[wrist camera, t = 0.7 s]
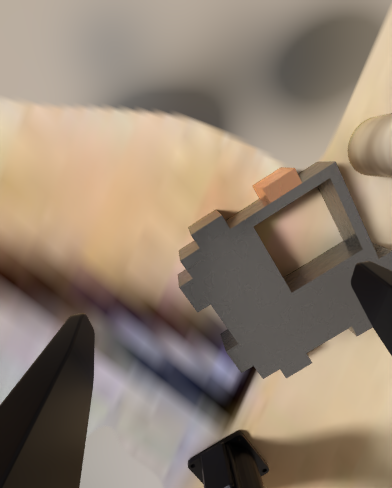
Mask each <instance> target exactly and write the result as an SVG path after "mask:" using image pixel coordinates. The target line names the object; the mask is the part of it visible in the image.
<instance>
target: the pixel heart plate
mask: <svg viewBox="0 0 392 488" xmlns="http://www.w3.org/2000/svg"><path fill="white" fill-rule="evenodd" d="M317 186H318V188H319V190H320V192H321V194H322V197H323V199H324V201H325V203H326V205H327V207H328V209H329V211H330V213H331V215H332V217H333V219H334V222H335V224H336V226H337V228H338V230H339V232H340V234H341V236H342V238H343V240H344V241H343V242H341V243H339V244H338V245H336V246H335V247H333V248H331V249H330V250H328V251H326V252H325V253H323V254H322V255H320V256H318V257H317V258H315V259H313V260H312V261H310V262H309V263H307V264H305V265H304V266H302V267H300V268H299V269H297V270H296V271H294V272H292V273H291V274H289V275H287V276H286V277H284V278H283V277H282V275H281V273H280V272H279V270H278V268H277V267H276V265H275V263H274V261H273V260H272V258H271V256H270V255H269V253H268V251H267V249H266V248H265V246H264V244H263V243H262V241H261V239H260V237H259V236H258V234H257V232H256V231H255V229H254V226H255V225H257V224H258V223H260V222H261V221H263V220H265V219H266V218H268V217H269V216H271V215H272V214H274V213H276V212H277V211H279V210H280V209H282V208H283V207H285V206H287V205H288V204H290V203H291V202H293V201H294V200H296V199H298V198H299V197H301V196H302V195H304V194H305V193H307V192H309V191H310V190H312V189H313V188H315V187H317ZM253 188H254V190H255V191H256V193H257V195H258V197H259V200H257V201H255V202H254V203H252V204H251V205H249V206H248V207H246V208H244V209H243V210H241V211H240V212H238V213H237V214H235V215H234V216H232V217H230V218H229V219H227V220H226V221H225V220H224V218H223V216H222V215H221V214H220V213H219V212H218V211H217V210H214V211H213V212H211V213H210V214H208V215H207V216H205V217H203V218H202V219H200V220H199V221H197V222H196V223H194V224H193V225H191V226H190V227H188V228H189V231H190V234H191V236H192V237H193V239H194V240H195V241H193V242H191V243H190V244H188V245H187V246H185V247H184V248H182V249H181V250H179V256H180V261H181V263H182V264H183V266H184V267H185V268H186V270H184V271H183V272H181V273H180V274H178V281H179V288H180V289H181V290H182V292H183V293H184V294H185V296H186V297H187V299H188V300H189V301H190V303H191V304H192V305H193V307H194V308H195V310H196V311H197V312H199V311H201V310H202V309H204V308H206V307H207V306H209V305H210V304H211V305H212V307H213V308H214V310H215V311H216V313H217V314H218V315H219V317H220V318H221V320H222V321H223V323H224V324H225V325H226V327H227V328H228V330H226V331H225V332H223V333H221V337H222V340H223V344H224V347H225V350H226V352H227V354H228V355H229V356H230V358H231V359H232V360H233V362H234V363H235V365H236V366H237V367H238V369H239V370H240V371H241V373H242V372H244V371H246V370H247V369H249V368H251V367H252V366H254V367H255V368H256V370H257V371H258V373H259V374H260V375H261V377H262V378H263V379H264V378H266V377H267V376H269V375H271V374H272V373H274V372H276V371H277V370H279V369H280V370H281V371H282V373H283V374H284V376H285V377H286V378H288V377H289V376H291V375H293V374H294V373H296V372H298V371H299V370H301V369H303V368H304V367H306V366H308V365H310V364H311V363H312V362H311V360H310V358H309V357H308V355H307V353H308V352H309V351H311V350H313V349H314V348H316V347H318V346H320V345H321V344H323V343H325V342H326V341H328V340H330V339H331V338H333V337H335V336H336V335H338V334H340V333H341V332H343V331H345V330H346V329H349V330H350V331H352V332H353V333H354V334H355V335H356V336H359V335H360V334H362V333H364V332H365V331H367V330H369V329H371V328H372V327H373V326H372V325H371V323H370V321H369V319H368V317H367V315H366V314H365V312H364V310H363V308H362V306H361V304H360V302H359V300H358V298H357V296H356V294H355V292H354V291H353V289H352V286H351V278H352V274H353V271H354V268H355V265H356V264H357V263H360V262H365V261H371V262H374V263H376V264H378V265H380V266H382V267H385V268H387V269H389V270H391V271H392V250H389V249H387V248H384V247H382V246H379V245H376V244H374V243H372V242H371V240H370V238H369V236H368V233H367V231H366V229H365V227H364V224H363V222H362V220H361V218H360V215H359V213H358V211H357V209H356V206H355V204H354V202H353V200H352V197H351V195H350V193H349V191H348V188H347V186H346V184H345V182H344V180H343V177H342V175H341V173H340V171H339V168H338V166H337V164H336V162H316V163H315V164H313V165H312V166H310V167H308V168H307V169H305V170H304V171H302V172H301V173H299V174H298V173H297V171H296V169H295V168H279V169H278V170H276V171H275V172H273V173H272V174H270V175H269V176H267V177H265V178H264V179H262V180H261V181H259V182H258V183H256V184H255V185H253Z"/></svg>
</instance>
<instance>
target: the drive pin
mask: <svg viewBox="0 0 392 488" xmlns="http://www.w3.org/2000/svg"><path fill="white" fill-rule="evenodd" d="M348 157H349V161H350V163H351V165H352V166H353V168H354V169H355V170H356V171H357V172H359V173H361V174H364V175H370V176H386V177H392V113H391V114H386V115H382V116H377V117H373V118H370V119H367V120H366V121H364V122H363V123H361V124H360V125H359V126H358V127H357V128H356V129H355V131H354V132H353V134H352V136H351V138H350V141H349V145H348Z"/></svg>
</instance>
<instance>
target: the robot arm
mask: <svg viewBox="0 0 392 488" xmlns="http://www.w3.org/2000/svg"><path fill="white" fill-rule="evenodd" d="M351 286H352V289H353V291H354V292H355V294H356V296H357V298H358V300H359V302H360V304H361V306H362V308H363V310H364V312H365V314H366V315H367V317H368V319H369V321H370V323H371V325H372V326H373V328H374V330H375V331H376V333H377V334H378V336H379V337H380V339H381V340H382V342H383V343H384V345H385V346H386V348H387V349H388V351H389V352H390V354H391V355H392V271H391V270H389V269H387V268H385V267H382V266H380V265H378V264H376V263H374V262H371V261H365V262H360V263H357V264H356V265H355V268H354V271H353V274H352V278H351ZM94 337H95V336H94V329H93V327H92V325H91V323H90V321H89V319H88V317H87V315H86V314H84V313H80V314H75V315H72V316H70V317H69V318H68V320H67V321H66V322H65V323H64V325H63V326H62V327H61V329H60V330H59V331H58V332H57V334H56V335H55V336H54V337H53V339H52V340H51V341H50V343H49V344H48V345H47V346H46V348H45V349H44V350H43V351H42V353H41V354H40V355H39V356H38V358H37V359H36V360H35V362H34V363H33V364H32V365H31V367H30V368H29V369H28V370H27V372H26V373H25V374H24V376H23V377H22V378H21V379H20V381H19V382H18V383H17V384H16V386H15V387H14V388H13V389H12V391H11V392H10V393H9V395H8V396H7V397H6V398H5V400H4V401H3V402H2V403H1V405H0V488H79V485H80V478H81V471H82V463H83V456H84V449H85V441H86V434H87V427H88V419H89V412H90V405H91V397H92V390H93V379H94ZM188 468H189V469H190V470H191V471H192V472H193V473H194V474H195V475H196V476H197V478H198V479H199V480H200V481H201V482H202V483H203V484H204V488H264V486H263V482H262V479H261V476H263V475H264V474H266V473H268V471H269V468H268V465H267V463H266V462H265V461H264V460H263V458H262V457H261V456H260V455H259V453H258V452H257V451H256V450H255V448H254V447H253V446H252V445H251V443H250V442H249V441H248V440H247V438H246V437H245V436H244V435H243V433H242V432H236V433H234V434H232V435H231V436H229V437H227V438H225V439H224V440H222V441H220V442H219V443H217V444H215V445H213V446H212V447H210V448H208V449H207V450H205V451H203V452H201V453H200V454H198V455H196V456H195V457H193V458H191V459H190V460H189V461H188Z"/></svg>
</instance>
